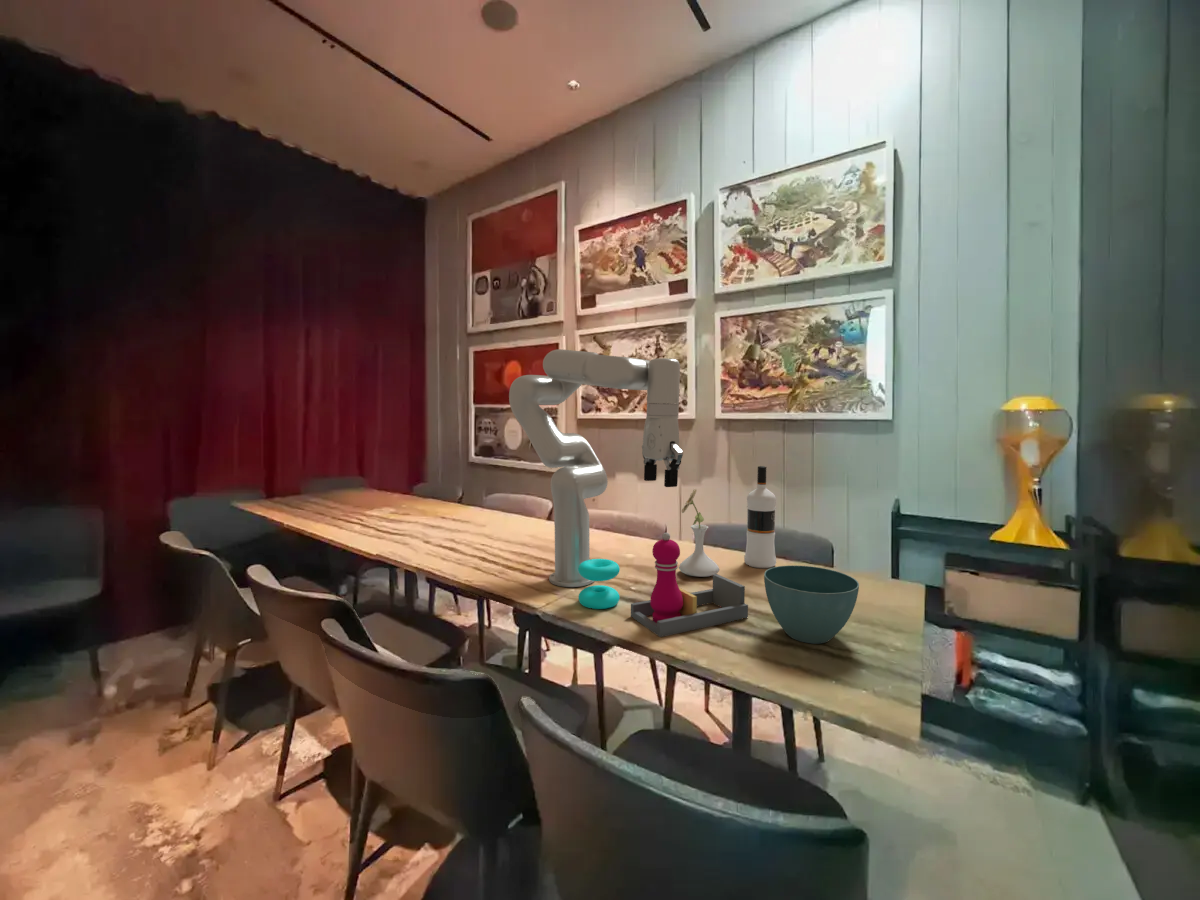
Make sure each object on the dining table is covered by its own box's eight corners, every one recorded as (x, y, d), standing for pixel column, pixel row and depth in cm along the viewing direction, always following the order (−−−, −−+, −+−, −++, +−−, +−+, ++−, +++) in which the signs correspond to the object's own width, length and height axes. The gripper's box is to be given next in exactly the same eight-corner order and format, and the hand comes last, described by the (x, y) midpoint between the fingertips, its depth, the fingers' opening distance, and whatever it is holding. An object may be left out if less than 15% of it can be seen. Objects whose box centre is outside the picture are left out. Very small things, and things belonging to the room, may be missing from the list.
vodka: (740, 560, 168) (742, 464, 166) (770, 560, 168) (772, 464, 166) (749, 569, 159) (751, 467, 156) (780, 569, 159) (783, 467, 157)
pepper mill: (674, 630, 114) (673, 538, 113) (644, 623, 118) (643, 534, 117) (688, 619, 120) (688, 531, 119) (659, 612, 124) (658, 527, 123)
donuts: (615, 556, 136) (623, 567, 126) (615, 595, 137) (623, 609, 127) (576, 558, 134) (580, 569, 124) (576, 597, 135) (581, 612, 125)
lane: (630, 616, 122) (630, 586, 122) (713, 600, 132) (713, 572, 132) (660, 637, 111) (660, 604, 111) (747, 618, 121) (748, 587, 121)
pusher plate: (668, 609, 125) (668, 584, 125) (672, 609, 125) (672, 584, 125) (692, 624, 117) (692, 597, 116) (696, 623, 117) (696, 596, 117)
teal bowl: (846, 622, 119) (847, 567, 118) (867, 659, 101) (869, 595, 100) (760, 615, 123) (761, 562, 122) (766, 650, 105) (767, 588, 104)
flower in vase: (689, 566, 162) (690, 483, 160) (725, 572, 155) (727, 486, 153) (668, 577, 151) (669, 488, 149) (706, 584, 145) (707, 492, 143)
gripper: (631, 410, 133) (629, 478, 135) (667, 412, 118) (664, 490, 119) (658, 410, 136) (655, 477, 138) (696, 413, 121) (693, 488, 122)
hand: (660, 483), depth 129 cm, fingers open, 9 cm apart
